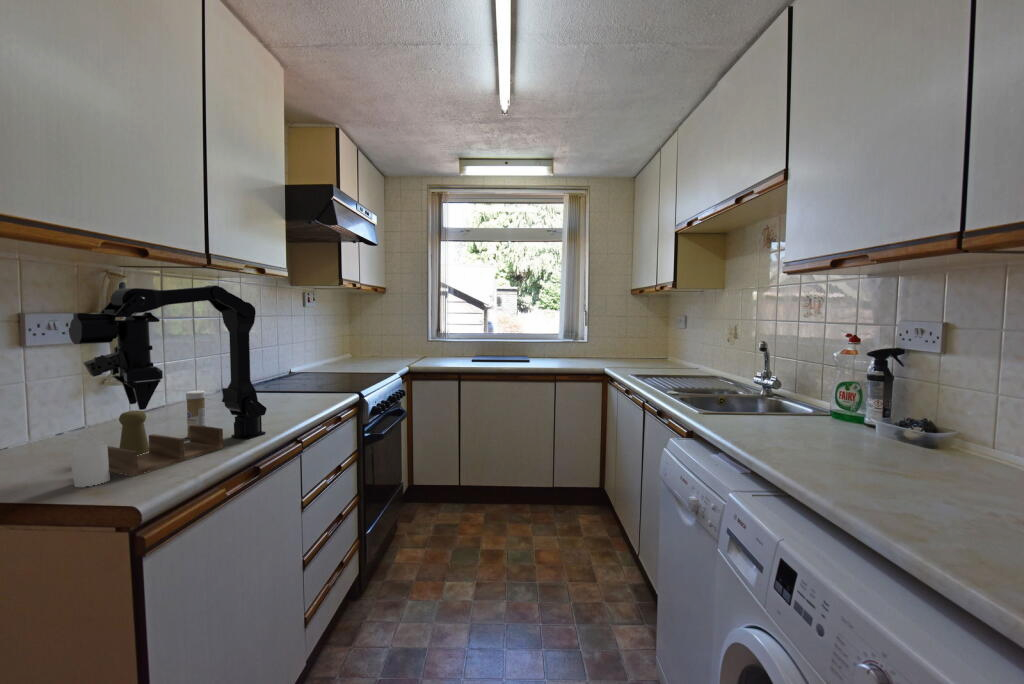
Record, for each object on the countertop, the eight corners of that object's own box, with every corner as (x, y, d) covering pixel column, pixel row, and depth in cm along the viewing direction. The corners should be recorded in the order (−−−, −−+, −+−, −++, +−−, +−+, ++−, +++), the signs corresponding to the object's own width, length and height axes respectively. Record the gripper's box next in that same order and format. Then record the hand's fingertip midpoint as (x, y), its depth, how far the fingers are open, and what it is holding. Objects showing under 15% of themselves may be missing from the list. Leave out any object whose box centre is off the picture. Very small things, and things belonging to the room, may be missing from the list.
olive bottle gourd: (131, 457, 106) (129, 414, 105) (112, 455, 107) (110, 413, 107) (155, 450, 112) (154, 409, 111) (137, 448, 113) (135, 408, 113)
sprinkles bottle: (183, 438, 123) (181, 392, 122) (196, 433, 128) (195, 389, 127) (197, 439, 122) (195, 393, 122) (210, 434, 127) (209, 390, 126)
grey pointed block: (114, 425, 92) (85, 432, 87) (117, 478, 93) (88, 489, 88) (91, 423, 93) (60, 430, 88) (93, 476, 94) (64, 486, 88)
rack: (193, 444, 118) (193, 424, 117) (223, 448, 114) (222, 428, 114) (100, 470, 98) (99, 446, 97) (133, 476, 94) (132, 452, 94)
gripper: (79, 341, 99) (83, 406, 101) (93, 346, 88) (98, 419, 89) (140, 339, 108) (144, 399, 109) (161, 343, 97) (164, 410, 98)
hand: (137, 406), depth 101 cm, fingers open, 9 cm apart
